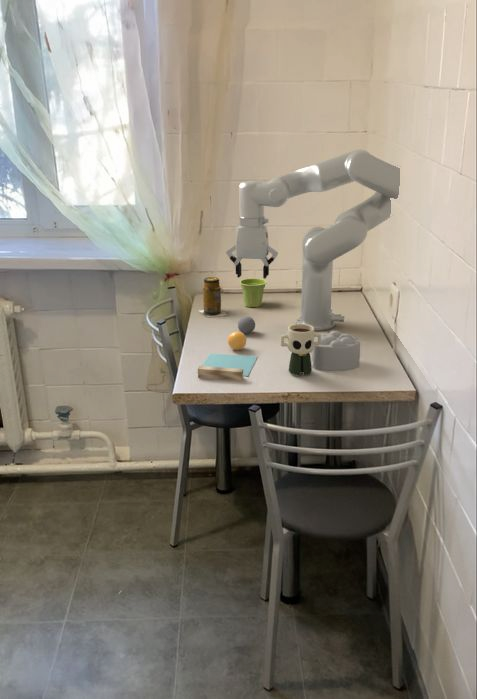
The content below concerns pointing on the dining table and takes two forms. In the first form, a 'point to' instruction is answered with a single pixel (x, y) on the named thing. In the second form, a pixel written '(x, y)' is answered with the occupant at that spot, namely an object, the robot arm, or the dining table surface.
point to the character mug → (300, 347)
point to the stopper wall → (220, 373)
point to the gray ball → (246, 325)
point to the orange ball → (237, 340)
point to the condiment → (212, 298)
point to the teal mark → (231, 362)
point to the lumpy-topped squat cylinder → (336, 352)
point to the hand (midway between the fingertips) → (252, 276)
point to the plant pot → (253, 291)
